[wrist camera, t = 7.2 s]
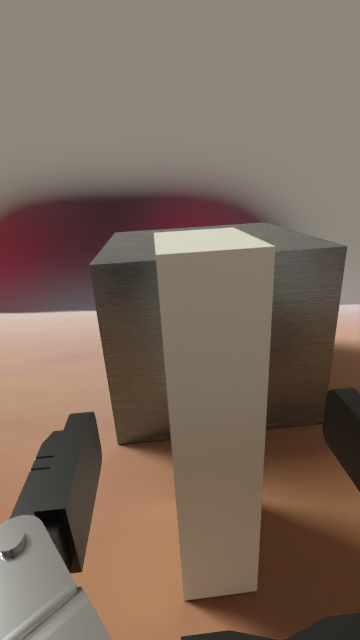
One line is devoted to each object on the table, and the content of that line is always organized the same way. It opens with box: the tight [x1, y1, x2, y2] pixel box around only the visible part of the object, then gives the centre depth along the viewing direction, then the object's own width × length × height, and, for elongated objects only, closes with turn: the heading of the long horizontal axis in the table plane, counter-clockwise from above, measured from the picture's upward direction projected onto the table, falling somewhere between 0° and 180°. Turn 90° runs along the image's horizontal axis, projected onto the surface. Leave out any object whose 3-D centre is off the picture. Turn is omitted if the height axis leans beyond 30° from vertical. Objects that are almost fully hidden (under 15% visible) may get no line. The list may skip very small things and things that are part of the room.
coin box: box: [89, 223, 347, 444], centre depth 26 cm, size 14×14×12 cm
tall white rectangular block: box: [154, 227, 275, 601], centre depth 13 cm, size 4×3×14 cm, turn 5°
